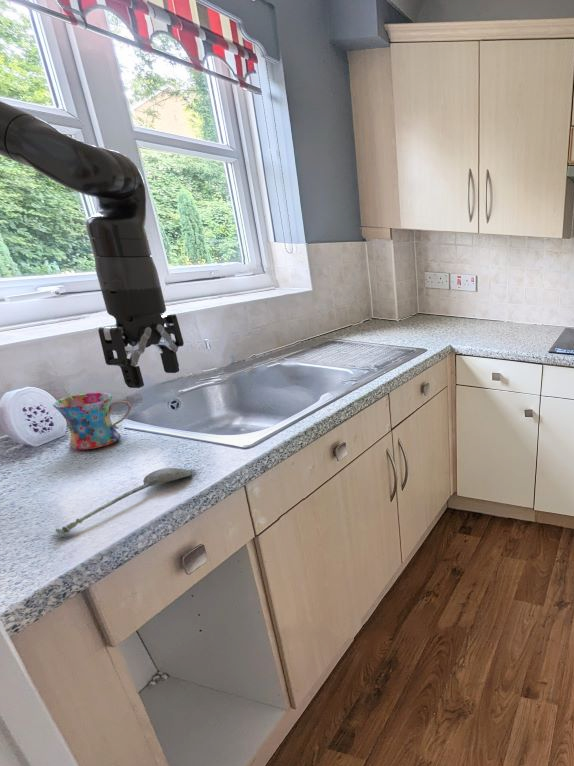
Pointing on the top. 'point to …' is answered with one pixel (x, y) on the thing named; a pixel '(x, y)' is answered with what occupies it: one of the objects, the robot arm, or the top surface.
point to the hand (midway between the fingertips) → (155, 379)
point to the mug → (90, 419)
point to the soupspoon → (134, 491)
